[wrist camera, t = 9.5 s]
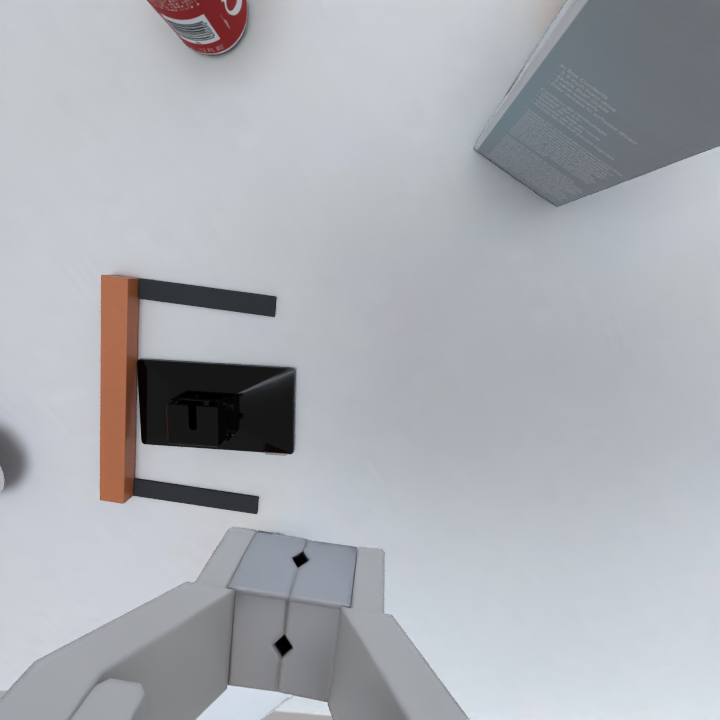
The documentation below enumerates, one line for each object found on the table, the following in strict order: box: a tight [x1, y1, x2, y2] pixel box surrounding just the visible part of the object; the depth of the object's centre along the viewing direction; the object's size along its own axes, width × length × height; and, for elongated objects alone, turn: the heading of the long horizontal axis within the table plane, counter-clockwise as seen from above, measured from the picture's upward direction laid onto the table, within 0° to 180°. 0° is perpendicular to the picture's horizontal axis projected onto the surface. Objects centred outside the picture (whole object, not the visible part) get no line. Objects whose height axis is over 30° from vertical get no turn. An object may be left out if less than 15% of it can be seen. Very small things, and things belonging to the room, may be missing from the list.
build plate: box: [137, 359, 296, 455], centre depth 32 cm, size 12×7×5 cm, turn 87°
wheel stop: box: [100, 275, 139, 503], centre depth 33 cm, size 2×18×2 cm, turn 173°
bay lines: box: [133, 278, 276, 514], centre depth 34 cm, size 10×18×1 cm, turn 173°
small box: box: [196, 685, 294, 720], centre depth 32 cm, size 8×6×10 cm
